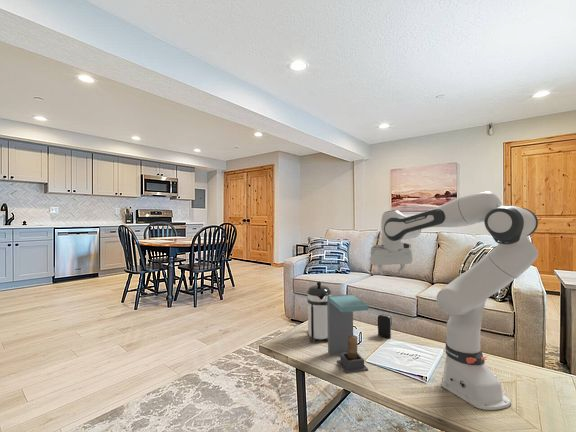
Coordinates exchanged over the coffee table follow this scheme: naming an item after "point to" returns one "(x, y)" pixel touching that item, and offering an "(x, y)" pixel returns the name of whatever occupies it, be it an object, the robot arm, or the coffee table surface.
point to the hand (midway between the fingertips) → (391, 273)
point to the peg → (352, 347)
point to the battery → (384, 325)
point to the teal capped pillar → (341, 320)
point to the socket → (351, 363)
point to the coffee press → (318, 312)
